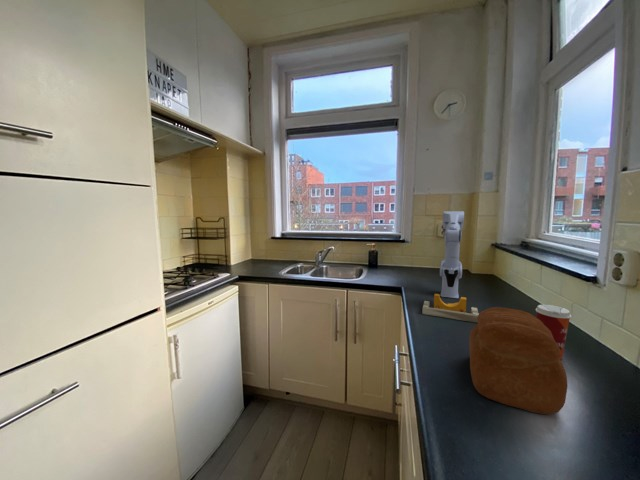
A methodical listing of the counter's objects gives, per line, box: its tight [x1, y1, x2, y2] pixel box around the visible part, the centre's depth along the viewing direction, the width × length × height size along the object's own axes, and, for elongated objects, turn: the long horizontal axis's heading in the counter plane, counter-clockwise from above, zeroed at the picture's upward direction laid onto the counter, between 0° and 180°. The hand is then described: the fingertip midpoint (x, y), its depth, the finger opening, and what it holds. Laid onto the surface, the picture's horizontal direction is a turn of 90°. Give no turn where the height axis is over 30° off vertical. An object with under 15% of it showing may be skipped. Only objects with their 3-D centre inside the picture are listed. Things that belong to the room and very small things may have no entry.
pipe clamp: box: [433, 293, 467, 313], centre depth 110 cm, size 12×4×6 cm, turn 63°
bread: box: [468, 306, 568, 415], centre depth 62 cm, size 18×22×17 cm
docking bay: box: [421, 300, 480, 324], centre depth 106 cm, size 10×20×2 cm, turn 63°
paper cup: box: [535, 304, 572, 361], centre depth 74 cm, size 8×8×14 cm
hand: (450, 286), depth 116 cm, fingers closed
